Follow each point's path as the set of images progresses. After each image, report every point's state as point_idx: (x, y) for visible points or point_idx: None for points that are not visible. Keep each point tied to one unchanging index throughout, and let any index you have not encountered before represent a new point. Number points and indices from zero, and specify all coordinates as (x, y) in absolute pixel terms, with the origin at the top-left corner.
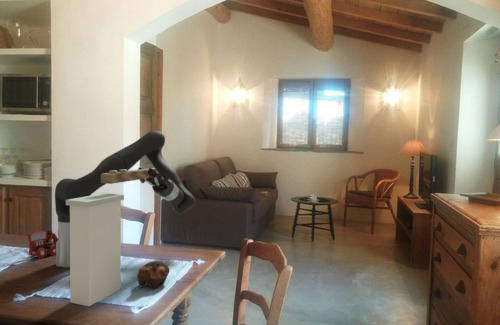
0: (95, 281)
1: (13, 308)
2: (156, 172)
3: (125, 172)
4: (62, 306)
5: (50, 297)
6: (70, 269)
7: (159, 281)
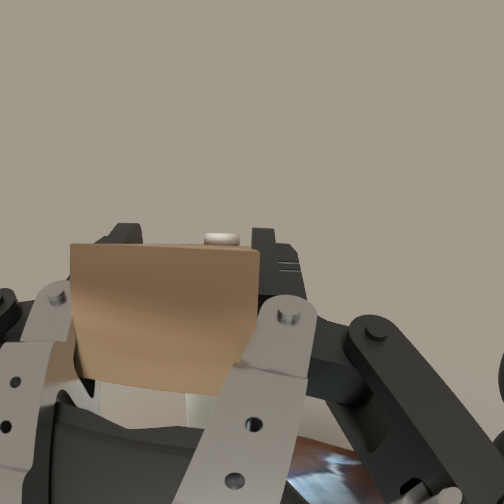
0: None
1: (306, 443)
2: (64, 287)
3: (201, 244)
4: None
5: (296, 474)
6: None
7: None
